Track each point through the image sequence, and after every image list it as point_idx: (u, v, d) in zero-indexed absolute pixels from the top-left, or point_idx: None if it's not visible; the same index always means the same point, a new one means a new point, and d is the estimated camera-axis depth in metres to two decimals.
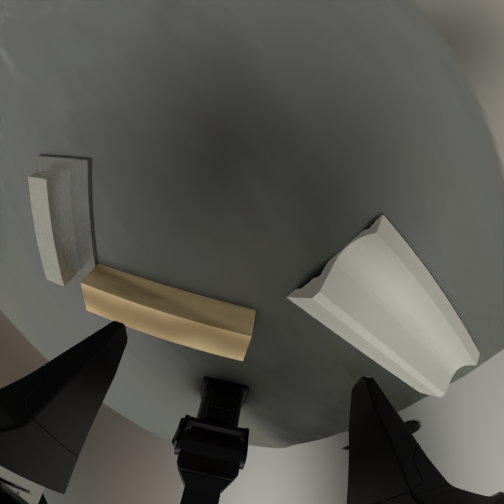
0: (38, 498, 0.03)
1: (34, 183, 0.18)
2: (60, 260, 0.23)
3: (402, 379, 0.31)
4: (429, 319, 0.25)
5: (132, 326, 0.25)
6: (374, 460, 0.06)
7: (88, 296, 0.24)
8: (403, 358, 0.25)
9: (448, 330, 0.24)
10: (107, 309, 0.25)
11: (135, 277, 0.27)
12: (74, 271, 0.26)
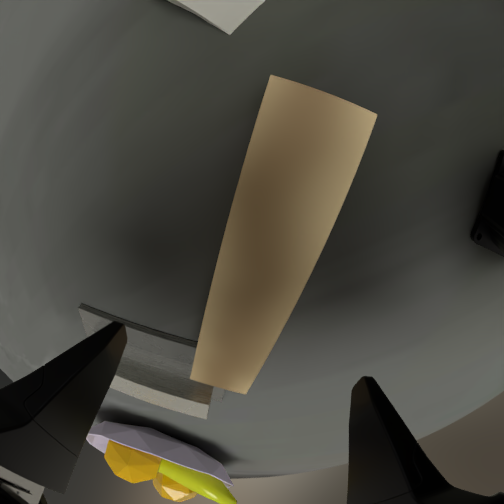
0: (38, 498, 0.03)
1: None
2: (170, 389, 0.18)
3: None
4: None
5: (269, 342, 0.14)
6: (374, 460, 0.06)
7: (214, 380, 0.17)
8: None
9: None
10: (234, 365, 0.15)
11: None
12: None
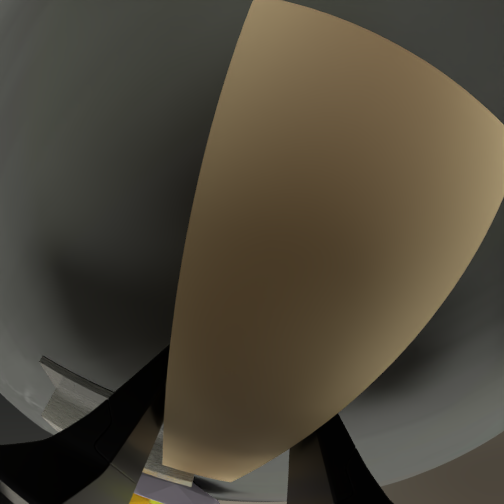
0: None
1: (56, 428, 0.13)
2: (147, 462, 0.13)
3: None
4: None
5: (257, 462, 0.08)
6: (307, 462, 0.06)
7: (191, 471, 0.11)
8: None
9: None
10: (213, 468, 0.09)
11: None
12: None
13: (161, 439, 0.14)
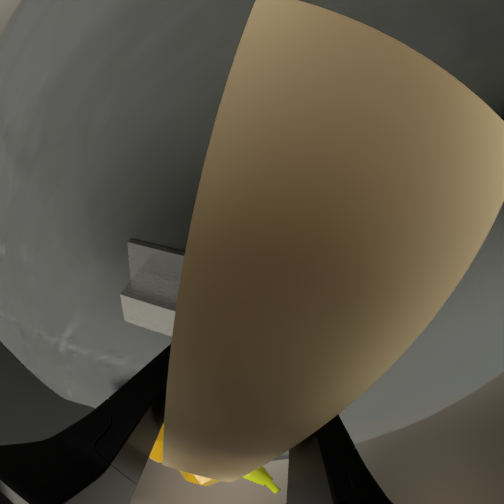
0: None
1: (129, 314, 0.20)
2: None
3: None
4: None
5: (258, 462, 0.08)
6: (306, 462, 0.06)
7: (191, 471, 0.11)
8: None
9: None
10: (214, 469, 0.09)
11: None
12: None
13: None
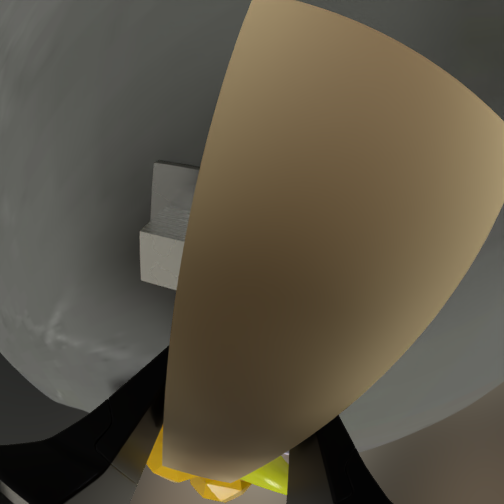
0: None
1: (150, 267, 0.13)
2: None
3: None
4: None
5: (257, 463, 0.08)
6: (306, 462, 0.06)
7: (191, 472, 0.11)
8: None
9: None
10: (213, 469, 0.09)
11: None
12: None
13: None
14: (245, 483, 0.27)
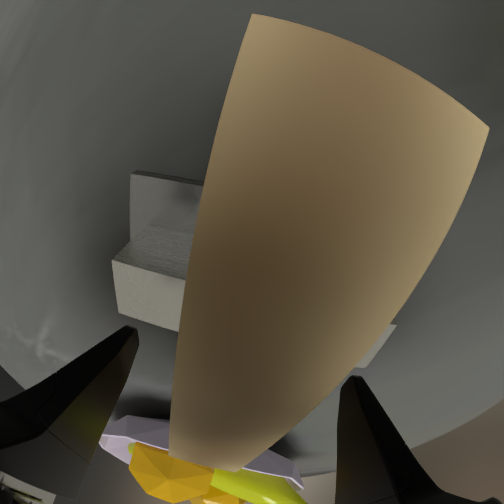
0: None
1: (127, 300, 0.11)
2: None
3: None
4: None
5: (261, 446, 0.09)
6: (361, 461, 0.06)
7: (196, 461, 0.11)
8: None
9: None
10: (218, 456, 0.10)
11: None
12: None
13: None
14: (243, 499, 0.25)
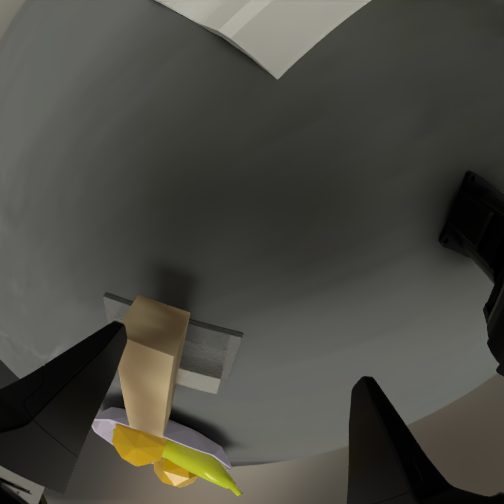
0: (38, 498, 0.03)
1: None
2: (187, 366, 0.22)
3: None
4: None
5: (161, 420, 0.21)
6: (374, 460, 0.06)
7: (142, 429, 0.23)
8: None
9: None
10: (149, 425, 0.22)
11: None
12: (219, 358, 0.24)
13: (197, 349, 0.24)
14: (193, 473, 0.37)
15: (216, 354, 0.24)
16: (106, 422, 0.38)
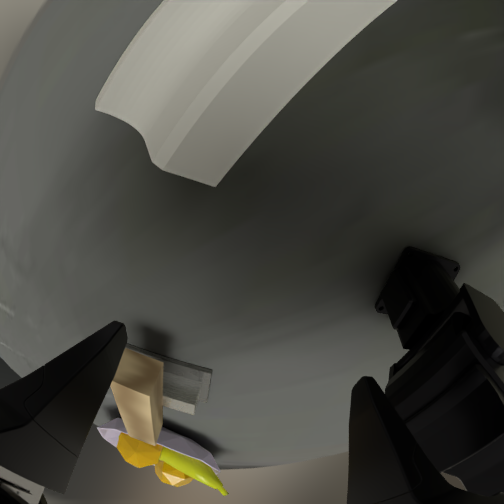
0: (38, 498, 0.03)
1: None
2: (169, 394, 0.27)
3: None
4: None
5: (151, 433, 0.25)
6: (374, 460, 0.06)
7: (139, 438, 0.28)
8: None
9: None
10: (143, 436, 0.27)
11: None
12: (195, 388, 0.29)
13: (178, 380, 0.29)
14: None
15: (192, 384, 0.29)
16: (113, 429, 0.44)
